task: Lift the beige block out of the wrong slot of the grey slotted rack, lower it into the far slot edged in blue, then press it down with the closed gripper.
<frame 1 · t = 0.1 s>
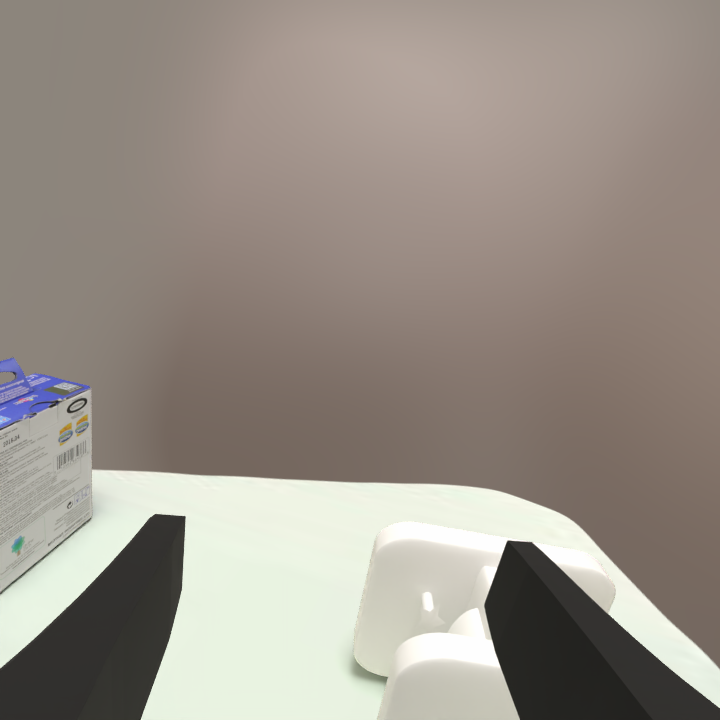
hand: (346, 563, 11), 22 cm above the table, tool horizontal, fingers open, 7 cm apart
ink cartridge box: (19, 545, 38), on the table
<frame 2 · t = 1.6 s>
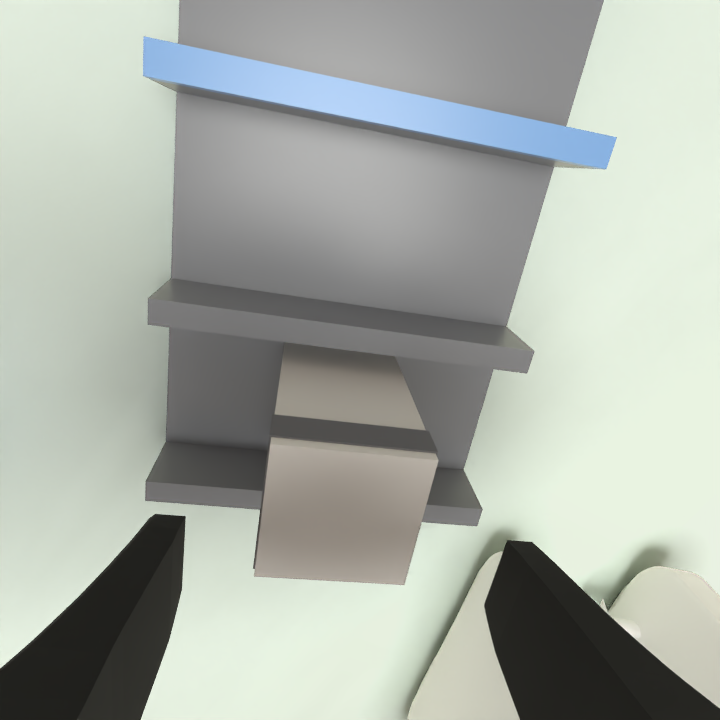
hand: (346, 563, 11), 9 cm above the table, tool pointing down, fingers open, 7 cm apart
grey slotted rack: (358, 219, 17), on the table
beige block: (332, 394, 19), point 1 cm above the table, touching grey slotted rack
cable organizer: (528, 631, 27), on the table
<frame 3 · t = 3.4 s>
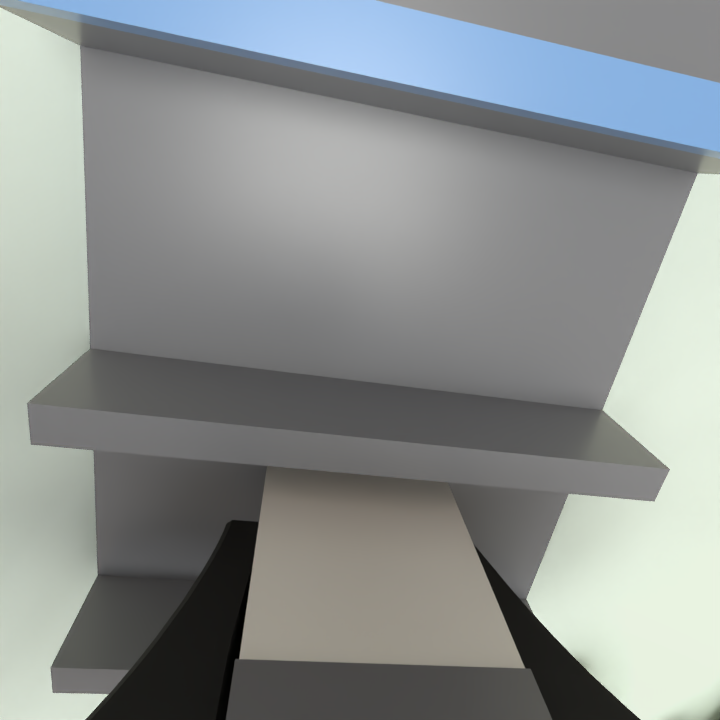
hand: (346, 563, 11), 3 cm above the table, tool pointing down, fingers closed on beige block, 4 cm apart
grey slotted rack: (383, 253, 11), on the table
beige block: (341, 507, 13), point 1 cm above the table, touching grey slotted rack, gripper
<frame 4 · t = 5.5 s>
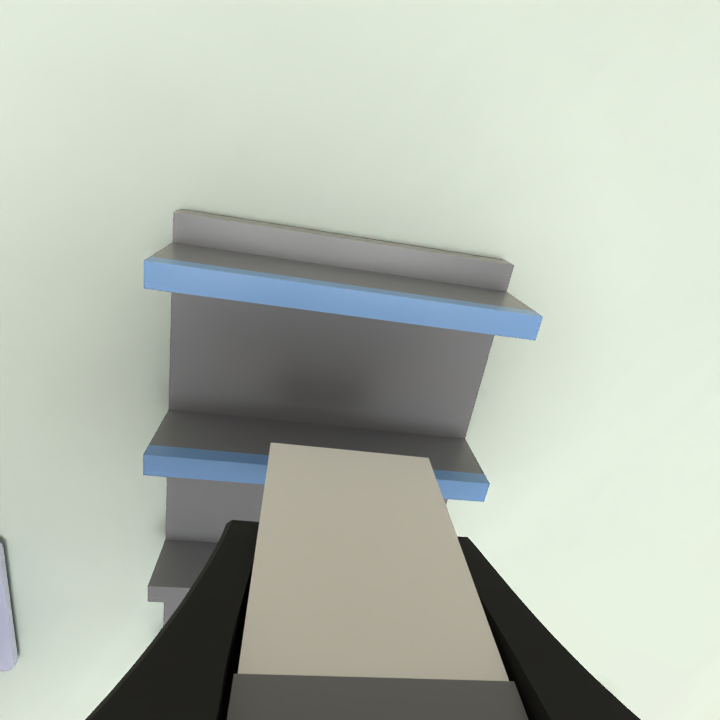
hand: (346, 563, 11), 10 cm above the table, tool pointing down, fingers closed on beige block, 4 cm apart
grey slotted rack: (311, 483, 22), on the table
beige block: (339, 513, 13), point 8 cm above the table, touching gripper
when the fingers open (4 cm above the table, at t = 7.6 s): beige block stays where it is, resting on grey slotted rack.
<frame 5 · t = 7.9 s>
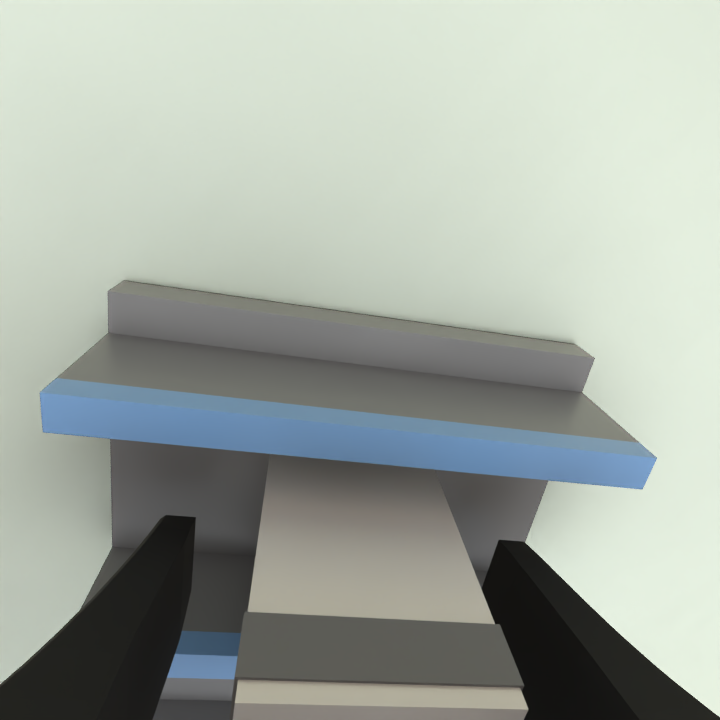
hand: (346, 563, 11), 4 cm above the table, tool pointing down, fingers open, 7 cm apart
grey slotted rack: (309, 618, 17), on the table
beige block: (338, 493, 14), point 1 cm above the table, touching grey slotted rack
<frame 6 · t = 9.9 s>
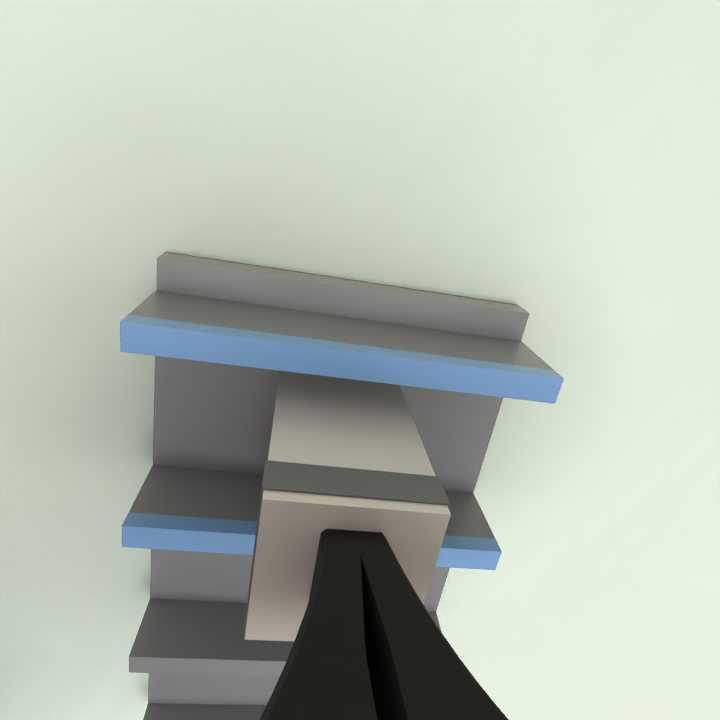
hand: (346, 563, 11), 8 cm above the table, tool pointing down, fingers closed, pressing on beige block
grey slotted rack: (308, 536, 20), on the table
beige block: (331, 422, 17), point 1 cm above the table, touching grey slotted rack, gripper
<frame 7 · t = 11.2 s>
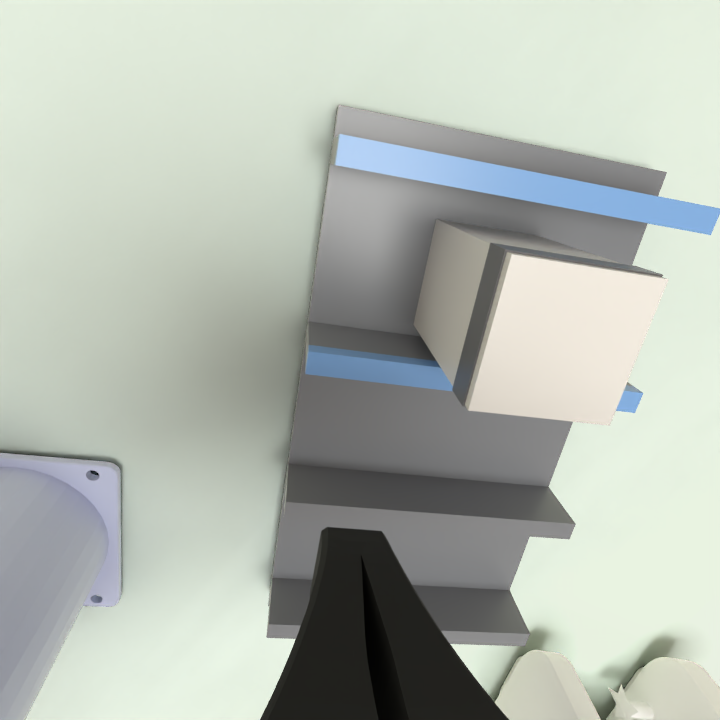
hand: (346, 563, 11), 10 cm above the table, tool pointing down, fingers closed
grey slotted rack: (432, 409, 22), on the table
beige block: (475, 281, 18), point 1 cm above the table, touching grey slotted rack
cable organizer: (556, 705, 31), on the table
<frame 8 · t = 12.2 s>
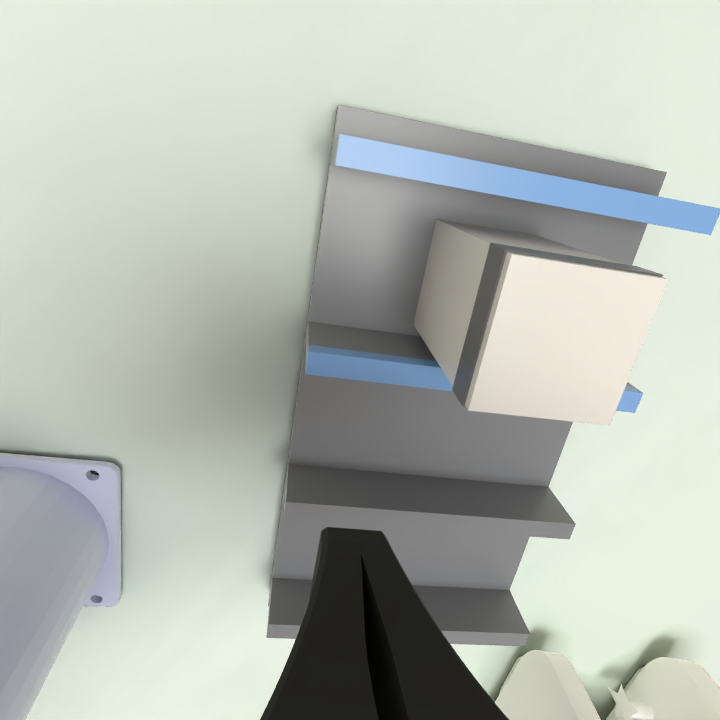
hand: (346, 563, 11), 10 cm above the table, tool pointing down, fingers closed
grey slotted rack: (432, 409, 22), on the table
beige block: (475, 281, 18), point 1 cm above the table, touching grey slotted rack
cable organizer: (556, 705, 31), on the table
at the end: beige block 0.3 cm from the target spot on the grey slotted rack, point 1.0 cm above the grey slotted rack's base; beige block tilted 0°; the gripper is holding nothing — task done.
